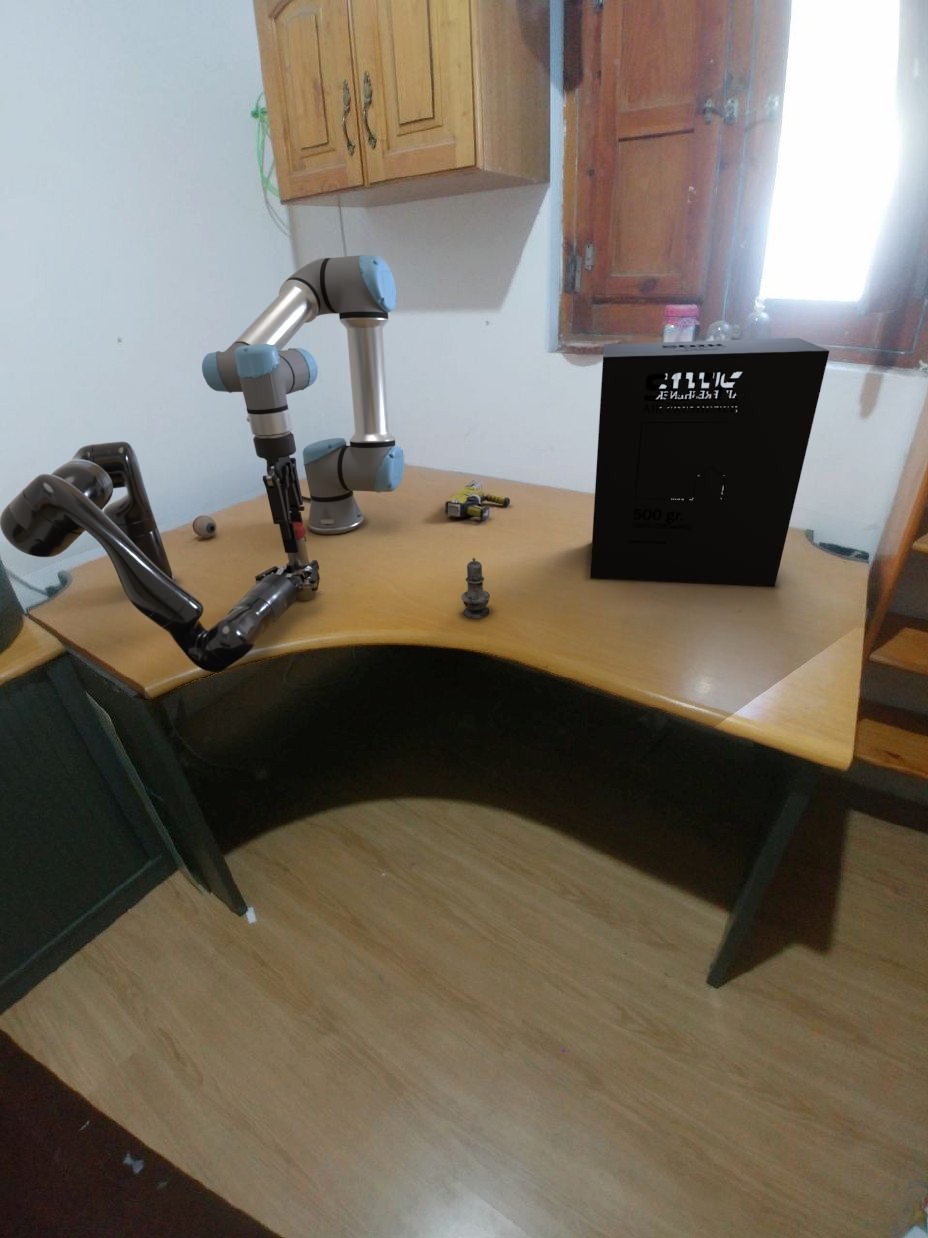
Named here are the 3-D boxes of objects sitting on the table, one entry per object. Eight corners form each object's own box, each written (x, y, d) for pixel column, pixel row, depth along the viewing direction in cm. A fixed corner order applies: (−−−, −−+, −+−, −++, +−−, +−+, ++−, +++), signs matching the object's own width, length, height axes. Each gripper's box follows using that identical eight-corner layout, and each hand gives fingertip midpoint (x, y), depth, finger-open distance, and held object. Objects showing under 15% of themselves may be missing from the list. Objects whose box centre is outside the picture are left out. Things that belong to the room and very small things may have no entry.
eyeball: (206, 542, 163) (200, 521, 160) (191, 538, 166) (185, 518, 163) (224, 534, 167) (218, 514, 164) (209, 531, 170) (203, 510, 167)
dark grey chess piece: (488, 619, 119) (486, 564, 113) (459, 618, 120) (455, 563, 114) (493, 605, 124) (491, 551, 118) (465, 604, 125) (462, 550, 119)
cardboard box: (755, 547, 142) (798, 337, 120) (774, 586, 125) (829, 350, 102) (592, 542, 150) (603, 344, 127) (589, 578, 133) (603, 356, 110)
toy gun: (518, 485, 181) (471, 478, 185) (495, 509, 161) (443, 500, 165) (516, 500, 184) (470, 493, 188) (494, 525, 164) (442, 517, 168)
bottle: (302, 602, 130) (287, 533, 122) (293, 596, 133) (278, 528, 125) (319, 596, 132) (305, 528, 124) (310, 590, 135) (296, 523, 127)
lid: (310, 534, 126) (308, 523, 125) (293, 542, 122) (291, 531, 121) (294, 530, 128) (292, 520, 127) (276, 538, 125) (274, 528, 123)
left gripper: (298, 585, 114) (333, 548, 128) (230, 581, 116) (272, 546, 131) (305, 619, 117) (339, 580, 132) (239, 615, 120) (279, 577, 135)
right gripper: (268, 424, 123) (291, 531, 134) (236, 446, 107) (264, 565, 119) (304, 422, 122) (324, 530, 134) (277, 444, 107) (301, 564, 118)
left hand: (305, 563), depth 131 cm, fingers closed on bottle, 4 cm apart
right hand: (296, 546), depth 126 cm, fingers closed on lid, 5 cm apart
